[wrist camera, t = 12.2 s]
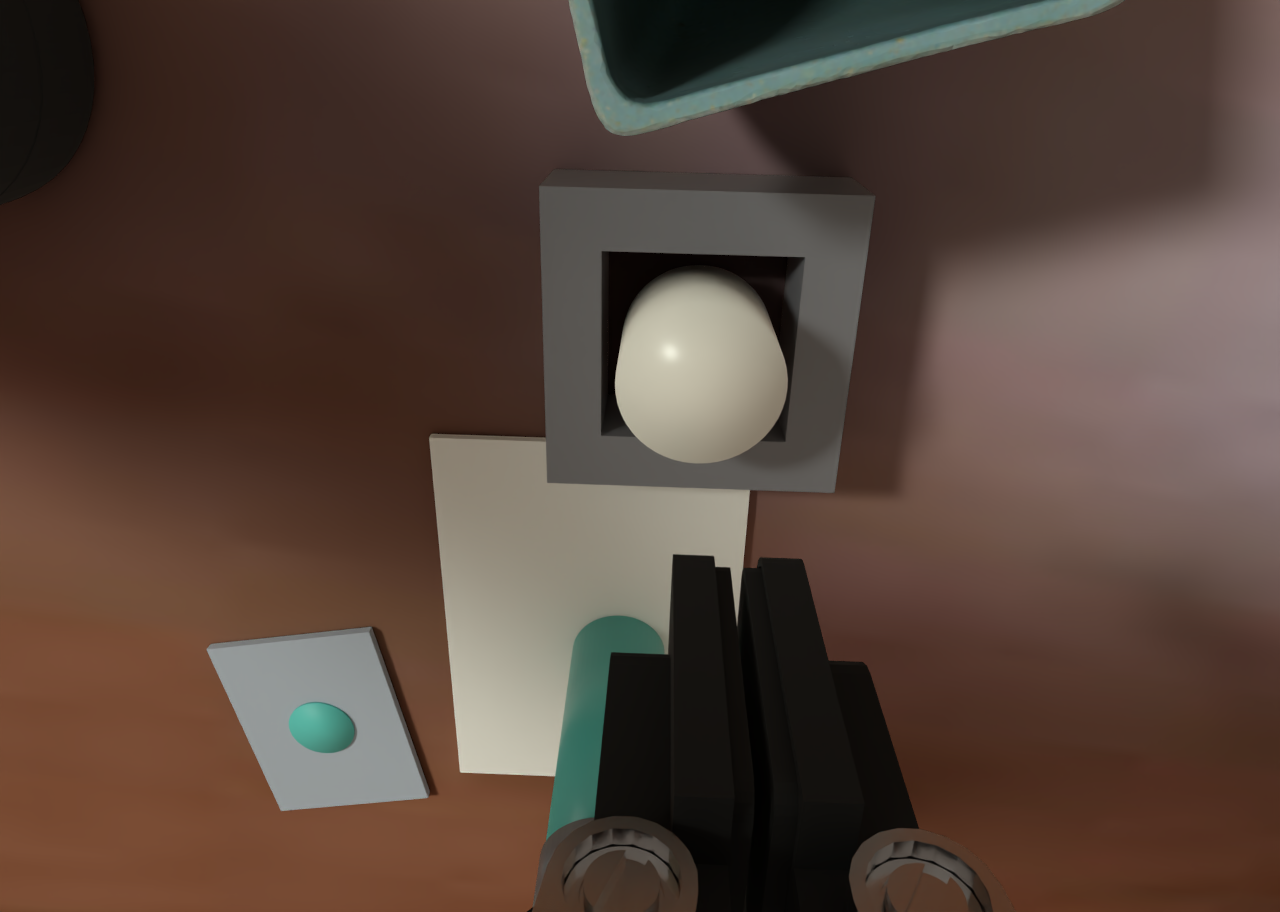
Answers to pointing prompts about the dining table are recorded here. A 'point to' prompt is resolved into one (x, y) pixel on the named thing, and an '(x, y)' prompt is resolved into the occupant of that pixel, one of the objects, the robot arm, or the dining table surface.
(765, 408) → the cream ball
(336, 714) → the card
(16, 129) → the pen holder
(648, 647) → the marker
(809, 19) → the flower pot
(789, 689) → the robot arm
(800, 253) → the button box
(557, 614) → the paper
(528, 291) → the dining table surface
